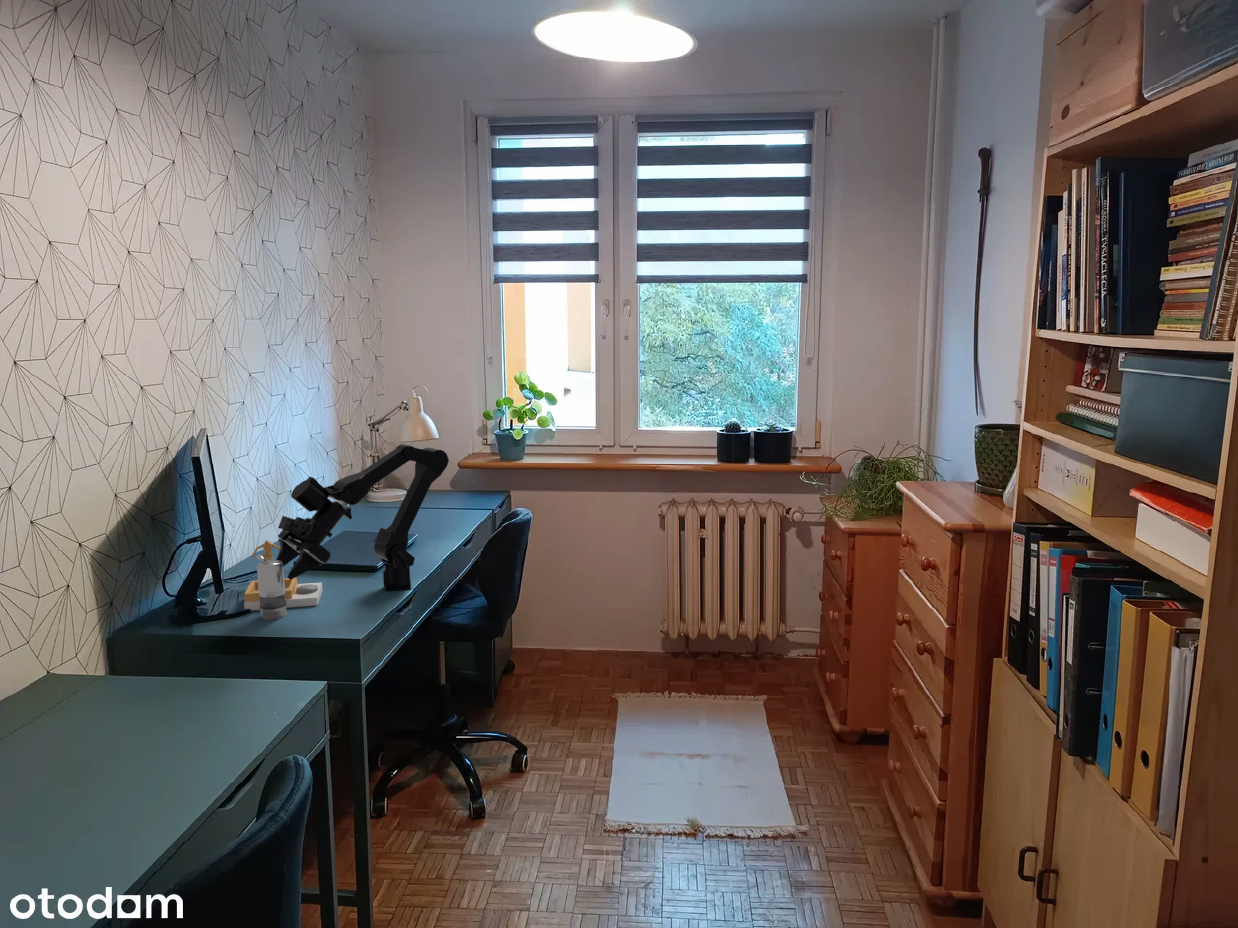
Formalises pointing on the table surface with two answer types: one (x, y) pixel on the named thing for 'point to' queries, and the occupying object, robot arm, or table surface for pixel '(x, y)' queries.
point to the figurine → (267, 549)
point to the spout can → (271, 589)
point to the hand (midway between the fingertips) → (281, 574)
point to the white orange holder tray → (287, 594)
